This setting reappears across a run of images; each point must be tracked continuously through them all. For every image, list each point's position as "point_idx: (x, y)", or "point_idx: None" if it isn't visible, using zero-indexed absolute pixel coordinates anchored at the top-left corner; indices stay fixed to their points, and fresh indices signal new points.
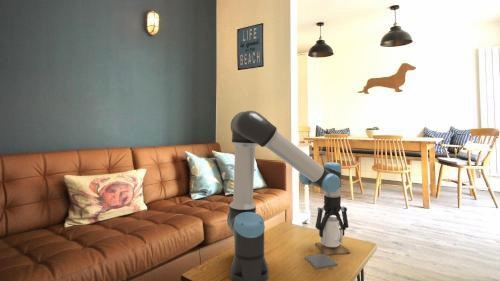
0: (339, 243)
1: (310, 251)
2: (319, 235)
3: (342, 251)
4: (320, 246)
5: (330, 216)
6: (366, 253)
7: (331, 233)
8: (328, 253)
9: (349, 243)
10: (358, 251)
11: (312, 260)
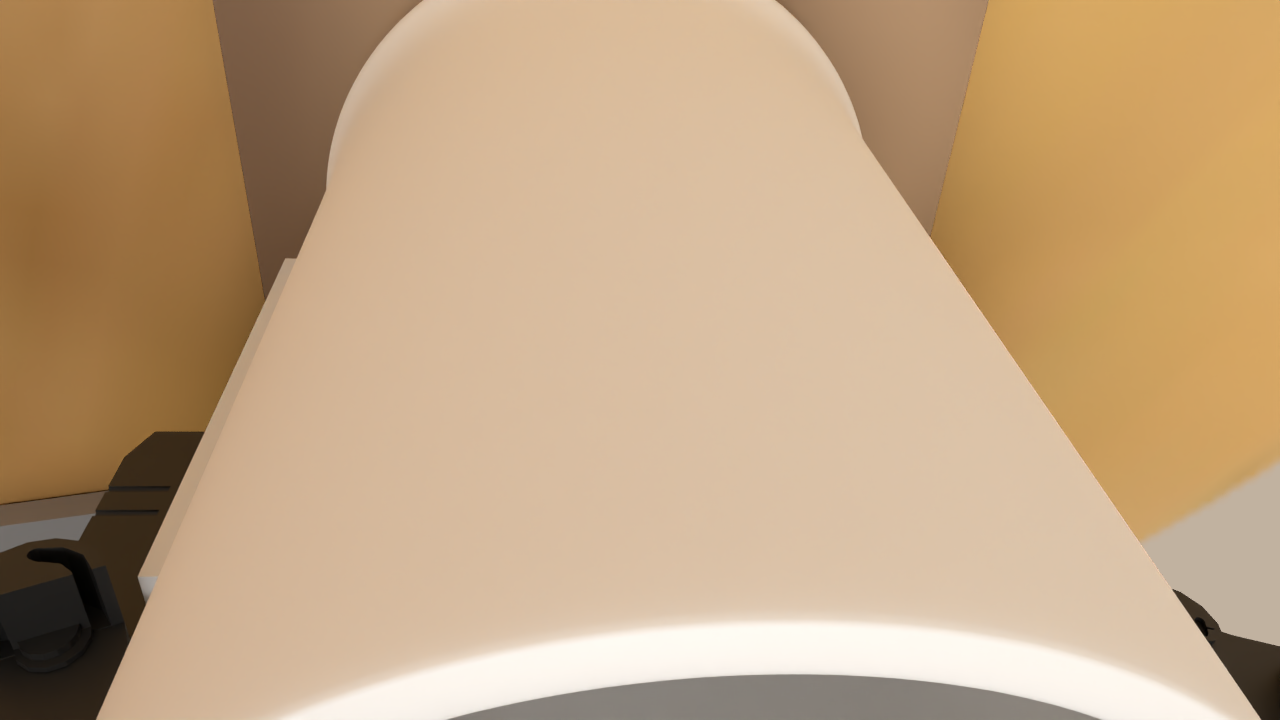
0: (945, 87)
1: (3, 276)
2: (136, 459)
3: None
4: (311, 169)
5: (1079, 708)
6: (1161, 512)
7: (518, 709)
8: None
9: (1268, 20)
10: (1093, 430)
11: None
